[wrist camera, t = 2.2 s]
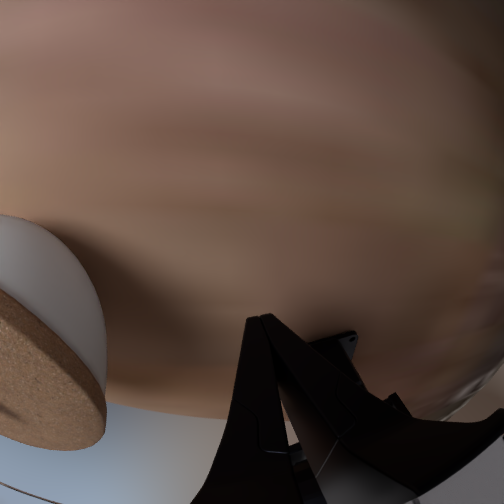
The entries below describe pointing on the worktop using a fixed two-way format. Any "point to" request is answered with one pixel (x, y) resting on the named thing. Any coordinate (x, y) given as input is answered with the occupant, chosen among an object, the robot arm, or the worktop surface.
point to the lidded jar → (49, 342)
